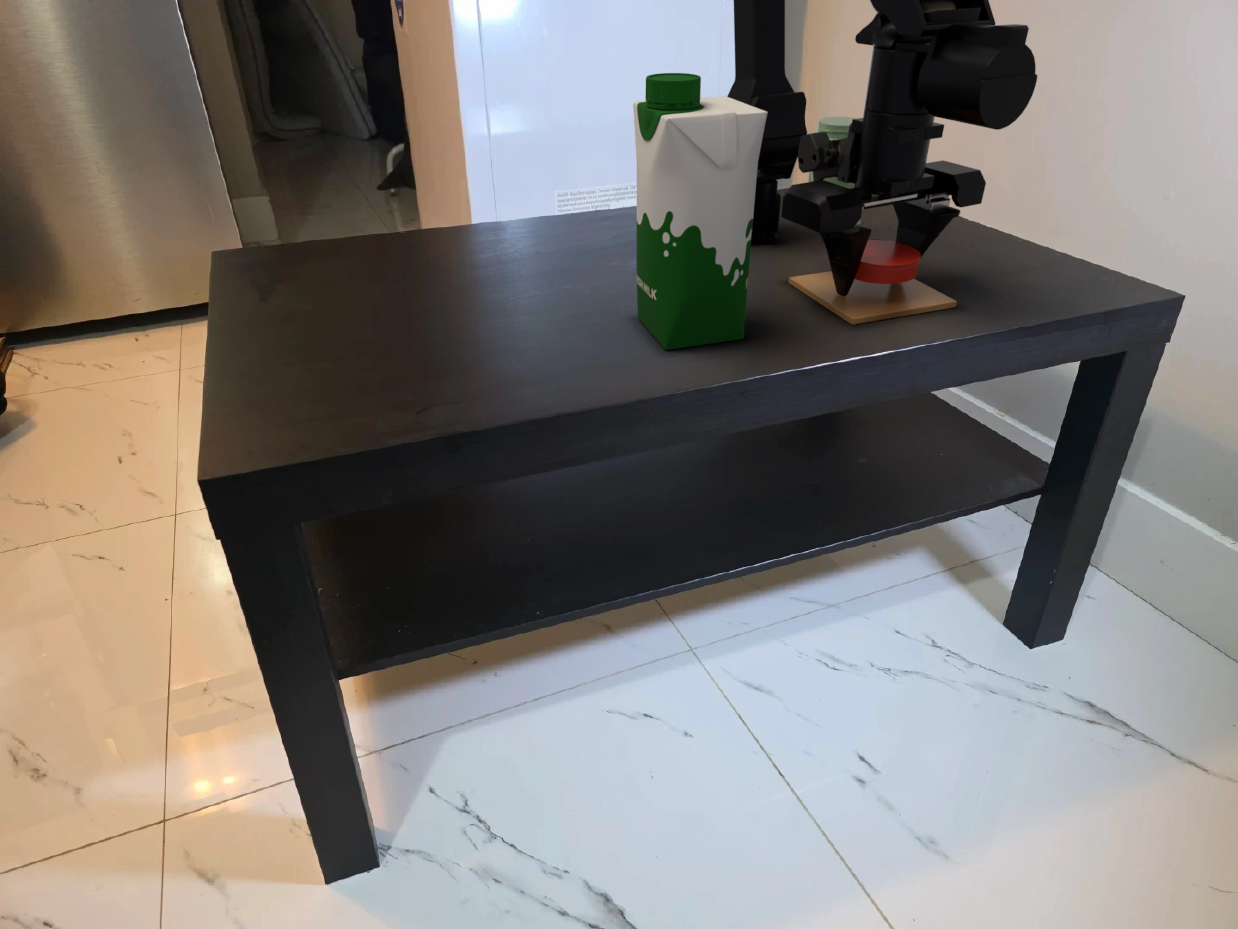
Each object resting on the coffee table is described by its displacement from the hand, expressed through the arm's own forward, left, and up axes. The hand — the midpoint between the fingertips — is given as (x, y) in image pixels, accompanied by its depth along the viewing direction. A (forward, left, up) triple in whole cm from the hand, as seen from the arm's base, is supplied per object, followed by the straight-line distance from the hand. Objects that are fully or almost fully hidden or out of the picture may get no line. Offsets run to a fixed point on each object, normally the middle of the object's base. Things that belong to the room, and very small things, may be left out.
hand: (870, 287), depth 76 cm
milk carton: (-18, -6, -1) cm, 19 cm away
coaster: (0, 0, -1) cm, 1 cm away
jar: (+6, +32, -1) cm, 32 cm away
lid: (0, -1, +3) cm, 3 cm away
